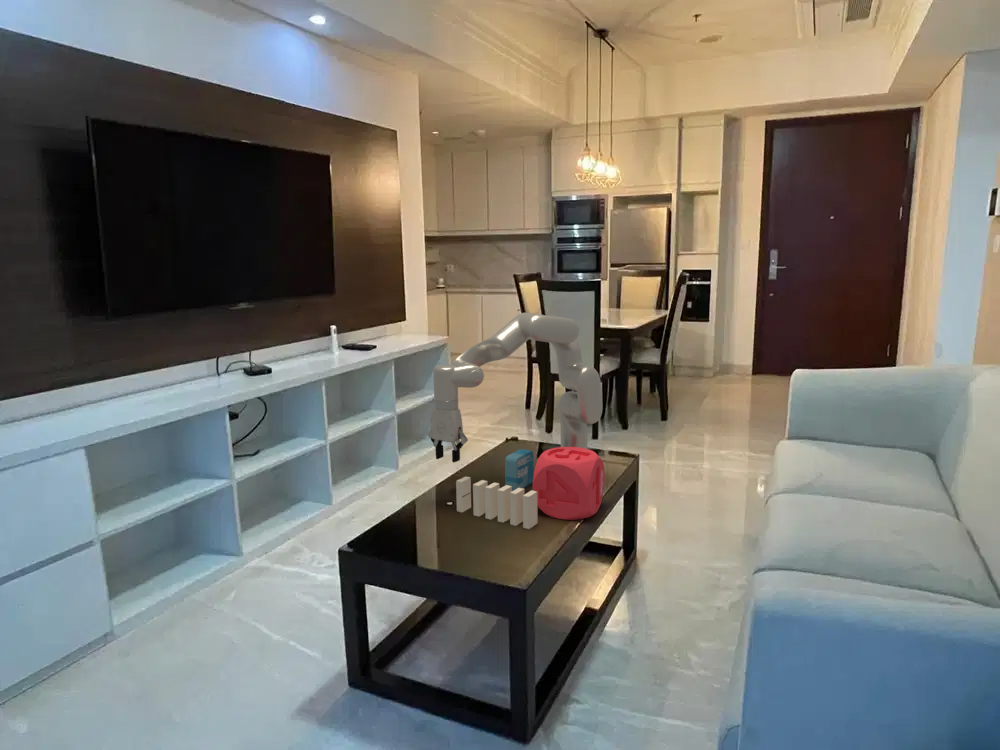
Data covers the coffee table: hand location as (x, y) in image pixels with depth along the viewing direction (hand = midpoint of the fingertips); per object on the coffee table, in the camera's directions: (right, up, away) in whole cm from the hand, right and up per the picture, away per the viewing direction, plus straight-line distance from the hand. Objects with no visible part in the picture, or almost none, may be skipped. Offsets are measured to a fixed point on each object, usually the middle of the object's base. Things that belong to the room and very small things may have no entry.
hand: (447, 459), depth 212 cm
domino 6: (+26, -18, -14) cm, 34 cm away
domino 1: (+5, -16, 0) cm, 17 cm away
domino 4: (+18, -17, -9) cm, 27 cm away
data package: (+23, -12, +20) cm, 33 cm away
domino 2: (+11, -16, -4) cm, 20 cm away
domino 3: (+14, -17, -6) cm, 23 cm away
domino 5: (+22, -18, -11) cm, 30 cm away
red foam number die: (+38, -16, -2) cm, 42 cm away
